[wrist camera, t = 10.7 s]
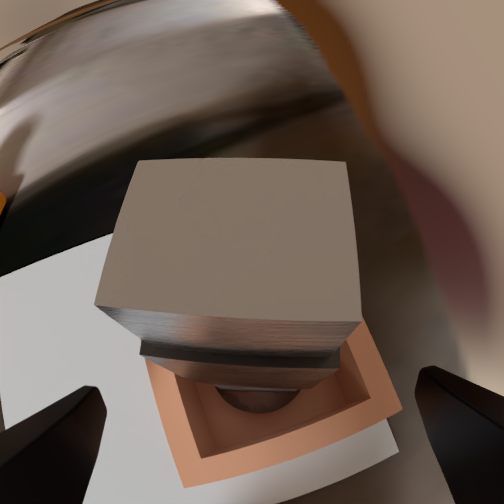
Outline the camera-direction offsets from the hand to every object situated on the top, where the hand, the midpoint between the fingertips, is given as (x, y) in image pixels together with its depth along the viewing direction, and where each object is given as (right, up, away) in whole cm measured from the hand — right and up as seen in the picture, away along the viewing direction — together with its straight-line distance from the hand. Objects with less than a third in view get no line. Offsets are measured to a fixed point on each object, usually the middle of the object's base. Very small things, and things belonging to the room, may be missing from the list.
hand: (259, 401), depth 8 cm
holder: (0, -2, +8) cm, 8 cm away
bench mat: (-6, -2, +8) cm, 11 cm away
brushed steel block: (0, -2, +7) cm, 8 cm away
